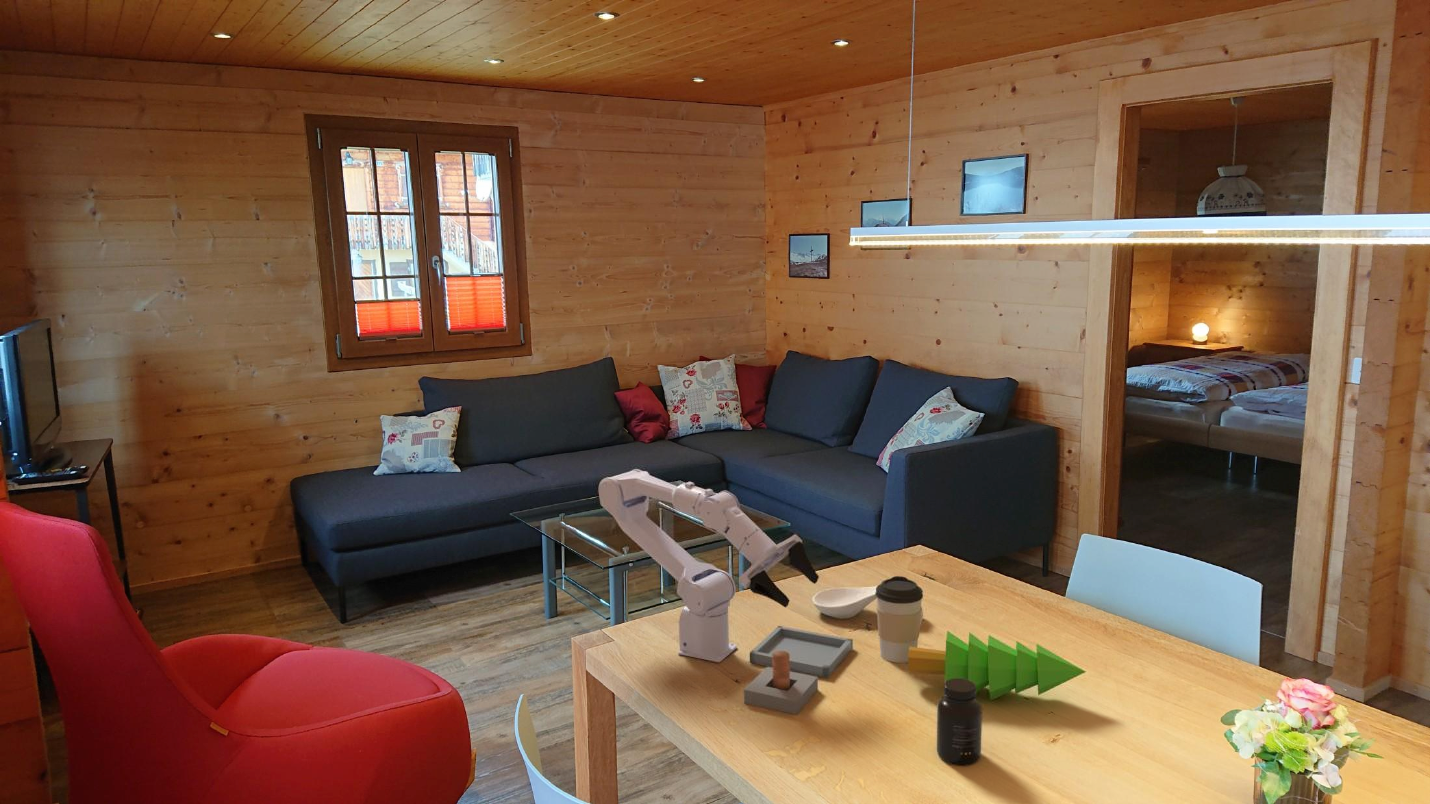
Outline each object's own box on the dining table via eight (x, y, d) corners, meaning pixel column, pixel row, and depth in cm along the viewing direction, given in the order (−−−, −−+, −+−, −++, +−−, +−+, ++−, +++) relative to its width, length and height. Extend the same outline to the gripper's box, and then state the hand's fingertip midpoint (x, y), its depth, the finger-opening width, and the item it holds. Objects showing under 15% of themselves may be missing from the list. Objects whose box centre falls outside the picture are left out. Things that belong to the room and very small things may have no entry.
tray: (749, 662, 184) (749, 652, 184) (778, 634, 196) (778, 625, 196) (827, 678, 177) (827, 668, 177) (852, 648, 189) (852, 639, 189)
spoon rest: (806, 620, 204) (806, 589, 203) (819, 600, 215) (819, 570, 214) (918, 634, 196) (918, 601, 195) (925, 612, 207) (926, 581, 206)
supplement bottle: (930, 745, 153) (932, 675, 151) (971, 742, 154) (973, 673, 152) (944, 768, 147) (946, 696, 144) (987, 765, 147) (989, 693, 145)
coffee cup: (922, 667, 181) (923, 592, 178) (873, 663, 182) (874, 589, 180) (921, 646, 189) (923, 575, 187) (875, 643, 191) (876, 572, 189)
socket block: (744, 702, 168) (743, 689, 168) (767, 679, 177) (767, 666, 177) (796, 714, 164) (796, 701, 163) (817, 689, 173) (817, 676, 172)
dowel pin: (770, 698, 170) (769, 656, 168) (777, 691, 172) (776, 649, 171) (785, 701, 168) (785, 659, 167) (792, 694, 171) (792, 652, 170)
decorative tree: (909, 615, 174) (1085, 625, 166) (913, 659, 180) (1083, 671, 171) (904, 662, 165) (1089, 675, 156) (908, 707, 171) (1087, 722, 162)
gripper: (725, 551, 172) (777, 604, 166) (781, 509, 179) (833, 558, 173) (720, 570, 177) (771, 622, 171) (776, 529, 184) (826, 578, 178)
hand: (802, 592), depth 173 cm, fingers open, 7 cm apart
